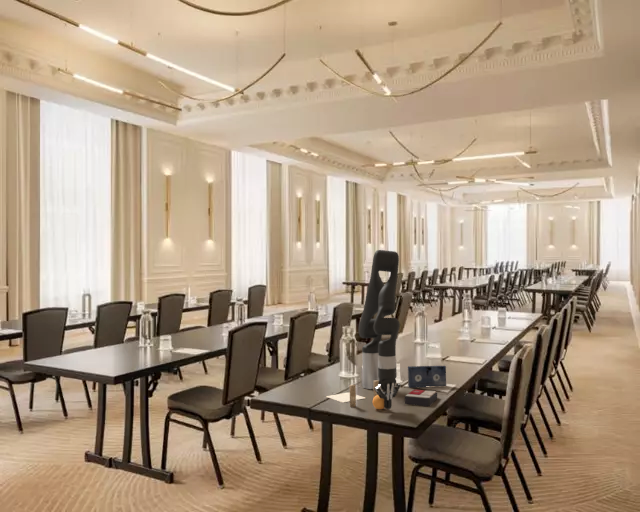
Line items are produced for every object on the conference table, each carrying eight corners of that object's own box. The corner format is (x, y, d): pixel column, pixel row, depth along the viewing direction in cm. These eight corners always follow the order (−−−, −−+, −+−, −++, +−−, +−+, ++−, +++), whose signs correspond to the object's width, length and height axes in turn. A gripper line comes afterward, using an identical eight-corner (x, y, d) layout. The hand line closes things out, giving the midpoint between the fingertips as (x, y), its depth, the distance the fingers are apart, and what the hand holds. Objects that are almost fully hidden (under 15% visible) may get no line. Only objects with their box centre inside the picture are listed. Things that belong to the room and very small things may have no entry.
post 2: (372, 401, 247) (372, 380, 247) (377, 400, 249) (376, 380, 249) (376, 402, 245) (376, 382, 245) (380, 401, 247) (380, 381, 247)
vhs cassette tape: (445, 385, 275) (444, 365, 275) (446, 387, 272) (446, 366, 272) (407, 386, 275) (407, 366, 275) (408, 388, 272) (408, 367, 272)
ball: (381, 409, 230) (372, 412, 234) (391, 406, 233) (382, 408, 238) (376, 395, 231) (367, 397, 236) (387, 391, 235) (378, 394, 239)
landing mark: (325, 396, 257) (325, 396, 257) (348, 392, 264) (348, 392, 264) (342, 402, 246) (342, 402, 246) (365, 398, 253) (365, 397, 253)
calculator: (437, 390, 252) (429, 396, 238) (437, 400, 251) (429, 407, 238) (413, 388, 256) (404, 394, 242) (413, 398, 256) (404, 404, 242)
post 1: (348, 406, 240) (348, 385, 240) (353, 405, 241) (353, 384, 241) (352, 407, 238) (351, 386, 238) (357, 406, 239) (356, 385, 239)
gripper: (393, 362, 238) (393, 403, 238) (368, 366, 231) (369, 409, 231) (405, 365, 232) (406, 407, 232) (380, 369, 225) (381, 413, 225)
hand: (387, 408), depth 232 cm, fingers closed
